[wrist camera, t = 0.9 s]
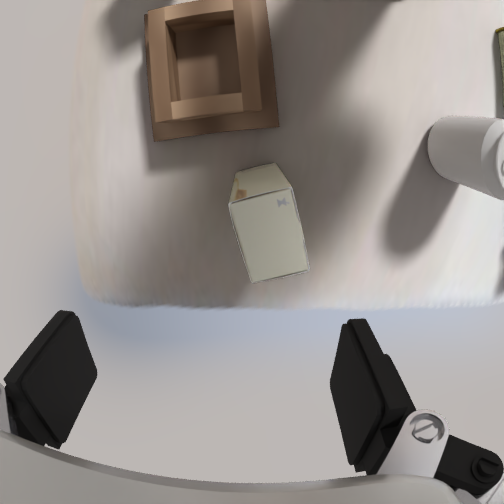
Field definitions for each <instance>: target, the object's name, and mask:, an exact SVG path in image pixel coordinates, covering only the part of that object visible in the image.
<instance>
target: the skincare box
mask: <svg viewBox="0 0 504 504" xmlns="http://www.w3.org/2000/svg"><path fill="white" fill-rule="evenodd" d="M228 208H229V212H230V216H231V221H232V224H233V228H234V232H235V235H236V239H237V242H238V245H239V248H240V251H241V255H242V258H243V261H244V264H245V267H246V269H247V272H248V275H249V278H250V281H251V283H253V284H254V283H259V282H264V281H269V280H274V279H279V278H284V277H289V276H293V275H298V274H302V273H306V272H308V271H309V270H310V266H309V261H308V255H307V250H306V245H305V240H304V235H303V231H302V226H301V222H300V217H299V213H298V209H297V204H296V200H295V196H294V192H293V188H292V186H291V185H290V183H289V182H288V180H287V179H286V177H285V176H284V174H283V173H282V171H281V170H280V169H279V167H278V166H277V164H276V163H272V164H267V165H262V166H258V167H254V168H250V169H246V170H243V171H239V172H237V173H236V174H235V178H234V183H233V187H232V191H231V195H230V199H229V203H228Z"/></svg>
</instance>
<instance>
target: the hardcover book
mask: <svg viewBox="0 0 504 504" xmlns="http://www.w3.org/2000/svg"><path fill="white" fill-rule="evenodd" d="M496 33H498V39H499V47H500V56H501V66H502V80H503V107H504V27H502V28H499V29H497V30H496Z"/></svg>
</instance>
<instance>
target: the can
mask: <svg viewBox="0 0 504 504" xmlns="http://www.w3.org/2000/svg"><path fill="white" fill-rule="evenodd" d="M428 154H429V158H430V162H431V164H432V165H433V167H434V169H435V171H436V172H437V173H438V174H439V175H440V176H442V177H444V178H446V179H448V180H451V181H453V182H456V183H459V184H462V185H464V186H467V187H470V188H472V189H475V190H477V191H480V192H483V193H485V194H487V195H490V196H492V197H495V198H497V199H500V200H504V119H499V118H486V117H468V116H446V117H443V118H441V119H439V120H438V121H437V122H436V123H435V124H434V126H433V127H432V129H431V131H430V134H429V138H428Z"/></svg>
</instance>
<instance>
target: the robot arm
mask: <svg viewBox="0 0 504 504" xmlns="http://www.w3.org/2000/svg"><path fill="white" fill-rule="evenodd" d="M96 378H97V369H96V366H95V363H94V361H93V358H92V355H91V353H90V350H89V347H88V344H87V342H86V339H85V335H84V332H83V329H82V326H81V323H80V320H79V318H78V316H76V315H75V313H74V312H72V311H63V310H60V311H58V312H57V313H56V314H55V315H54V317H53V318H52V319H51V320H50V321H49V322H48V324H47V325H46V326H45V327H44V328H43V330H42V331H41V332H40V333H39V334H38V336H37V337H36V338H35V339H34V341H33V342H32V343H31V344H30V345H29V347H28V348H27V349H26V351H25V352H24V353H23V354H22V355H21V357H20V358H19V360H18V361H17V362H16V363H15V364H14V366H13V367H12V368H11V370H10V371H9V372H8V374H7V375H6V377H5V378H4V381H5V383H6V386H5V388H4V387H3V385H2V384H0V504H504V472H503V470H504V468H503V463H502V461H501V459H500V458H499V456H498V455H497V454H495V453H493V452H492V451H489V450H487V449H484V448H481V447H479V446H476V445H474V444H471V443H469V442H466V441H464V440H461V439H459V438H457V437H454V436H452V435H449V426H448V423H447V421H446V419H445V418H444V417H443V416H442V415H441V414H439V413H437V412H435V411H432V410H428V409H422V410H417V411H416V409H415V406H414V404H413V402H412V400H411V399H410V396H409V394H408V392H407V390H406V388H405V386H404V384H403V382H402V380H401V377H400V376H399V374H398V371H397V370H396V368H395V366H394V364H393V362H392V360H391V358H390V356H389V355H387V354H383V352H382V350H381V348H380V346H379V344H378V342H377V340H376V338H375V336H374V334H373V332H372V330H371V328H370V326H369V324H368V322H367V321H366V319H349V320H348V322H347V324H343V325H342V328H341V333H340V338H339V343H338V348H337V352H336V357H335V362H334V366H333V370H332V374H331V379H330V389H331V393H332V397H333V401H334V405H335V408H336V413H337V417H338V421H339V425H340V429H341V433H342V438H343V442H344V446H345V450H346V455H347V459H348V462H349V464H350V465H354V467H355V471H356V472H362V471H366V474H367V475H366V476H358V477H348V478H338V479H329V480H319V481H307V482H289V483H224V482H209V481H197V480H187V479H178V478H170V477H163V476H157V475H151V474H145V473H140V472H134V471H129V470H124V469H120V468H116V467H111V466H107V465H103V464H99V463H95V462H91V461H88V460H84V459H81V458H78V457H74V456H71V455H68V454H65V453H61V452H59V451H56V450H53V449H50V448H47V447H45V446H44V445H45V443H46V444H47V445H48V446H51V447H54V448H56V449H60V447H61V445H62V443H64V442H66V440H67V438H68V436H69V433H70V431H71V429H72V427H73V425H74V423H75V420H76V419H77V417H78V414H79V412H80V410H81V408H82V406H83V404H84V402H85V400H86V398H87V396H88V394H89V392H90V390H91V388H92V386H93V384H94V382H95V380H96Z"/></svg>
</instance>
